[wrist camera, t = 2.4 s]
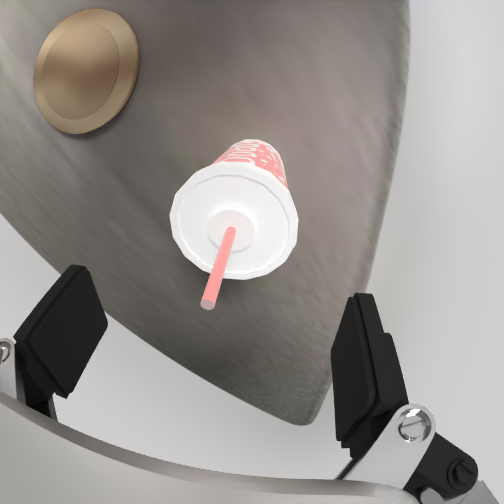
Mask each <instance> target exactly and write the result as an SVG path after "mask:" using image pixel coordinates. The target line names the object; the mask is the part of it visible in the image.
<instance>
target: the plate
mask: <svg viewBox="0 0 504 504" xmlns="http://www.w3.org/2000/svg"><path fill="white" fill-rule="evenodd" d="M139 58H140V56H139V46H138V41H137V38H136V35H135V33H134V31H133V29H132V27H131V26H130V24H129V23H128V22H127V21H126V20H125V19H124V18H123V17H122V16H120V15H119V14H117V13H115V12H112V11H109V10H105V9H99V8H91V9H85V10H81V11H78V12H76V13H74V14H72V15H70V16H68V17H67V18H65V19H64V20H63V21H62V22H60V23H59V24H58V25H57V26H56V27H55V28H54V29H53V30H52V32H51V33H50V34H49V35H48V37H47V39H46V40H45V42H44V44H43V45H42V47H41V50H40V52H39V55H38V57H37V61H36V65H35V70H34V93H35V98H36V101H37V104H38V107H39V109H40V111H41V113H42V114H43V116H44V118H45V119H46V120H47V121H48V122H49V123H50V124H51V125H52V126H53V127H55V128H56V129H58V130H60V131H62V132H65V133H69V134H82V133H86V132H89V131H92V130H94V129H97V128H99V127H101V126H103V125H105V124H106V123H108V122H109V121H110V120H112V119H113V118H114V117H115V116H116V115H117V114H118V113H119V111H120V110H121V109H122V108H123V106H124V105H125V103H126V102H127V100H128V99H129V97H130V95H131V93H132V90H133V88H134V85H135V82H136V79H137V75H138V69H139Z"/></svg>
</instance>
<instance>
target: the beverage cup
mask: <svg viewBox="0 0 504 504" xmlns="http://www.w3.org/2000/svg"><path fill="white" fill-rule="evenodd" d="M170 222H171V228H172V234H173V238H174V239H175V241H176V243H177V244H178V246H179V248H180V249H181V251H182V253H183V254H184V256H185V257H187V258H188V259H189V260H190V261H192V262H193V263H194V264H195V265H196V266H198V267H199V268H200V269H201V270H203V271H206V272H208V273H211V274H210V277H209V280H208V283H207V285H206V288H205V291H204V294H203V297H202V300H201V306H202V307H203V308H204V309H207V310H211V309H213V308H214V306H215V303H216V299H217V296H218V292H219V289H220V285H221V282H222V279H223V278H226V279H241V280H247V279H251V278H255V277H259V276H262V275H266V274H268V273H270V272H271V271H273V270H274V269H276V268H277V267H278V266H280V265H281V264H283V263H284V262H285V261H286V259H287V258H288V256H289V254H290V253H291V251H292V249H293V248H294V246H295V244H296V242H297V230H298V216H297V211H296V208H295V205H294V203H293V200H292V198H291V195H290V192H289V190H288V187H287V182H286V176H285V171H284V166H283V162H282V160H281V157H280V155H279V153H278V152H277V151H276V150H275V149H274V148H273V147H272V146H271V145H270V144H268V143H265V142H263V141H260V140H250V139H246V140H243V141H240V142H238V143H235V144H234V145H233V146H231V147H230V148H229V149H228V150H227V151H226V152H225V153H224V154H222V155H221V156H220V157H219V158H218V159H217V160H216V161H215V162H214V163H212V164H211V165H210V166H208V167H205V168H203V169H201V170H198V171H196V172H195V174H193V175H192V176H191V177H190V178H189V179H188V181H187V182H186V183H185V184H184V185H183V186H182V187H181V188H180V189H179V191H178V192H177V193H176V194H175V198H174V201H173V205H172V208H171V212H170Z"/></svg>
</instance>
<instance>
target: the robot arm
mask: <svg viewBox="0 0 504 504" xmlns="http://www.w3.org/2000/svg"><path fill="white" fill-rule="evenodd" d="M107 326H108V321H107V318H106V315H105V313H104V310H103V308H102V305H101V302H100V300H99V297H98V294H97V292H96V289H95V286H94V283H93V280H92V277H91V274H90V272H89V271H88V270H87V268H86V267H85V266H80V265H70V266H69V267H68V268H67V270H66V271H65V272H64V273H63V274H62V275H61V276H60V278H59V279H58V280H57V281H56V282H55V283H54V285H53V286H52V287H51V288H50V289H49V291H48V292H47V293H46V294H45V295H44V297H43V298H42V299H41V300H40V302H39V303H38V304H37V305H36V307H35V308H34V309H33V310H32V312H31V313H30V315H29V316H28V317H27V318H26V320H25V321H24V322H23V324H22V325H21V326H20V328H19V329H18V330H17V332H16V333H15V335H14V336H13V337H14V339H15V340H16V344H15V345H14V343H13V342H12V340H10V339H7V338H3V339H0V504H499V503H498V501H497V500H496V498H495V497H494V496H493V494H492V493H491V491H490V490H489V489H488V487H487V486H486V484H485V483H484V482H483V481H482V480H481V481H478V479H477V477H478V467H477V464H476V462H475V460H474V459H473V458H472V457H471V456H469V455H468V454H466V453H465V452H463V451H462V450H461V449H459V448H458V447H456V446H454V445H453V444H452V443H450V442H449V441H447V440H446V439H445V438H443V437H442V436H440V435H439V434H437V433H436V432H435V431H436V423H435V420H434V417H433V415H432V414H431V412H430V411H429V410H427V409H426V408H425V407H423V406H421V405H418V404H409V401H408V397H407V392H406V388H405V384H404V379H403V375H402V372H401V367H400V364H399V360H398V356H397V352H396V349H395V346H394V342H393V339H392V336H391V335H390V333H384V331H383V327H382V324H381V320H380V317H379V313H378V310H377V306H376V303H375V300H374V297H373V295H372V294H367V293H355V294H354V296H353V297H349V298H348V301H347V304H346V307H345V310H344V313H343V316H342V320H341V323H340V326H339V329H338V331H337V334H336V337H335V340H334V343H333V346H332V349H331V366H332V378H333V390H334V407H335V426H336V439H337V441H341V447H342V448H350V457H352V459H351V460H350V461H349V463H348V464H347V465H346V466H345V467H344V468H343V470H342V471H341V472H340V473H339V474H338V475H337V476H336V477H335V478H334V480H321V479H320V480H319V479H286V478H269V477H258V476H247V475H239V474H231V473H224V472H217V471H211V470H205V469H200V468H195V467H189V466H185V465H180V464H176V463H172V462H168V461H164V460H160V459H156V458H153V457H149V456H146V455H142V454H139V453H136V452H132V451H129V450H126V449H123V448H120V447H117V446H115V445H112V444H109V443H106V442H103V441H101V440H98V439H96V438H93V437H91V436H88V435H86V434H84V433H81V432H79V431H76V430H74V429H72V428H70V427H68V426H65V425H63V424H61V423H59V422H58V420H57V416H56V411H55V407H54V402H53V397H52V395H53V393H54V392H55V393H56V395H58V396H61V397H63V398H65V399H67V397H68V395H69V393H72V392H73V390H74V388H75V386H76V384H77V382H78V380H79V378H80V376H81V375H82V373H83V371H84V369H85V367H86V365H87V363H88V361H89V359H90V358H91V356H92V354H93V352H94V350H95V349H96V347H97V345H98V343H99V341H100V340H101V338H102V336H103V334H104V332H105V331H106V329H107Z"/></svg>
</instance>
